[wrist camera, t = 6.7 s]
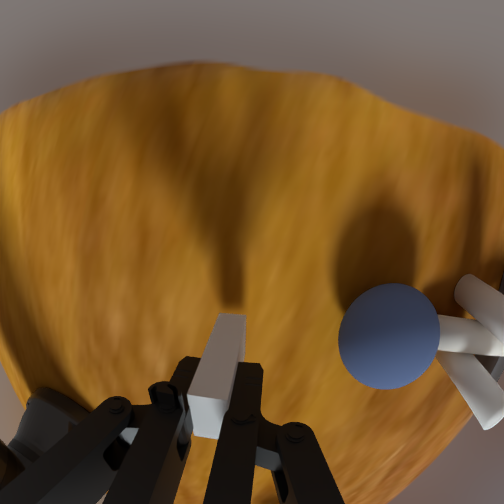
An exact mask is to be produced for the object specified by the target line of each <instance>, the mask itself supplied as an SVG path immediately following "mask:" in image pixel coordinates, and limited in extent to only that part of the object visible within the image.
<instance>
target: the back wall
mask: <svg viewBox="0 0 504 504" xmlns="http://www.w3.org/2000/svg"><path fill="white" fill-rule="evenodd" d="M499 292H500V293H502V294H503V295H504V273H503V277H502V281H501V285H500V289H499ZM475 357H476V359H477V360H478V361H479V362H480V363H481V364H482V366H483V367H484V368H485V369H486V370H487V371H488V373H489V374H490V375H491V376H492V377H493V379H494V380H495V381H496V382H497V381H498V380H499V378H500V376H501V374H502V372H503V370H504V356H490V355H479V354H475Z"/></svg>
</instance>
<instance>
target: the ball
mask: <svg viewBox="0 0 504 504" xmlns="http://www.w3.org/2000/svg"><path fill="white" fill-rule="evenodd" d="M439 342H440V323H439V319H438V315H437V313H436V310H435V308H434V306H433V305H432V303H431V302H430V300H429V299H428V298H427V297H426V296H425V295H424V294H423V293H421V292H420V291H419V290H417V289H415V288H413V287H411V286H408V285H405V284H399V283H388V284H382V285H379V286H376V287H373V288H371V289H369V290H367V291H365V292H364V293H363V294H361V295H360V296H359V297H358V298H357V299H355V300H354V302H353V303H352V304H351V305H350V307H349V308H348V310H347V311H346V313H345V315H344V317H343V319H342V322H341V325H340V329H339V337H338V344H339V351H340V356H341V359H342V361H343V363H344V365H345V367H346V368H347V370H348V371H349V373H350V374H351V375H352V376H353V377H354V378H355V379H357V380H358V381H359V382H361V383H363V384H365V385H367V386H369V387H372V388H376V389H394V388H399V387H402V386H405V385H407V384H409V383H411V382H413V381H414V380H416V379H417V378H418V377H419V376H421V375H422V374H423V373H424V372H425V371H426V369H427V368H428V367H429V366H430V364H431V363H432V361H433V359H434V357H435V355H436V352H437V350H438V346H439Z"/></svg>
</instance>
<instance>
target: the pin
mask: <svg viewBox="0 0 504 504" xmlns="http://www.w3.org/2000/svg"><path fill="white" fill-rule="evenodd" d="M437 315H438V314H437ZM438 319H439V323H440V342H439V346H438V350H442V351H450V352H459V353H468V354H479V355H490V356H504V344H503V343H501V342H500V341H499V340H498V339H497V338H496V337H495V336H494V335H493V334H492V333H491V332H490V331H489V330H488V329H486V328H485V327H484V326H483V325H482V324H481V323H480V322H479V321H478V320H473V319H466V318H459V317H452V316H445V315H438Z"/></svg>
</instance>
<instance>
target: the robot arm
mask: <svg viewBox="0 0 504 504" xmlns="http://www.w3.org/2000/svg"><path fill="white" fill-rule="evenodd" d="M245 340H246V315H239V314H227V313H219V315H218V318H217V320H216V323H215V325H214V328H213V330H212V333H211V335H210V338H209V340H208V343H207V345H206V348H205V350H204V353H203V355H202V358H197V357H189V356H186V357H185V358H183V359H182V360H181V361H180V362H179V363H178V365H177V367H176V370H175V371H174V373H173V376H172V377H171V379H170V382H168V381H162V382H157V383H155V384H153V385H151V386H150V387H149V388H148V392H149V395H150V399H151V402H152V404H149V405H131V403H130V401H129V400H128V399H126V398H124V397H121V396H114V397H110V398H108V399H106V400H105V401H104V402H102V403H101V404H100V405H99V406H98V407H97V408H96V409H95V410H93V411H92V412H91V413H89V412H87V411H86V410H85V409H83V408H82V407H81V406H79V405H78V404H76V403H75V402H73V401H72V400H70V399H69V398H67V397H65V396H64V395H62V394H60V393H58V392H56V391H54V390H51V389H48V388H42V387H41V388H38V389H37V390H36V391H35V392H34V393H33V394H32V395H31V396H30V397H29V399H28V401H27V404H26V407H27V409H26V411H25V413H24V415H23V417H22V420H21V422H20V425H19V428H18V431H17V434H16V435H15V437H14V438H13V439H12V441H11V442H10V443H9V445H8V446H6V445H5V444H4V442H3V441H2V440H1V439H0V504H96V503H97V502H98V501H99V500H100V499H101V498H102V496H103V495H104V494H105V493H106V492H107V491H108V490H109V491H108V493H107V495H106V497H105V499H104V501H103V503H102V504H173V503H174V499H175V496H176V493H177V490H178V486H179V483H180V480H181V477H182V473H183V470H184V467H185V464H186V460H187V457H188V454H189V451H190V447H191V438H190V437H191V434H192V431H193V432H194V435H195V436H200V437H206V438H213V439H218V442H217V447H216V451H215V455H214V459H213V464H212V468H211V472H210V476H209V480H208V485H207V489H206V493H205V497H204V501H203V504H251V495H252V486H253V478H254V468H255V465H257V466H260V467H263V468H266V469H269V470H271V473H272V477H273V480H274V484H275V488H276V491H277V495H278V498H279V502H280V504H345V503H344V501H343V498H342V496H341V494H340V492H339V489H338V487H337V485H336V483H335V480H334V478H333V476H332V474H331V471H330V469H329V467H328V464H327V462H326V460H325V458H324V455H323V453H322V451H321V448H320V446H319V444H318V441H317V439H316V437H315V434H314V432H313V431H312V429H311V428H310V427H309V426H307V425H306V424H303V423H300V422H290V423H287V424H284V425H283V426H280V425H276V424H273V423H271V422H269V421H267V420H266V419H265V418H264V417H263V416H262V414H261V410H260V407H261V395H262V383H263V369H262V367H261V365H260V363H248V362H244V357H245Z"/></svg>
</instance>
